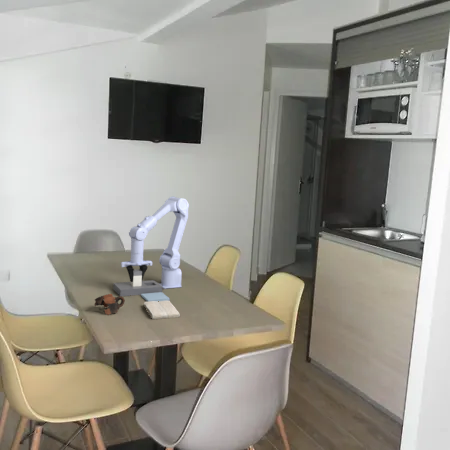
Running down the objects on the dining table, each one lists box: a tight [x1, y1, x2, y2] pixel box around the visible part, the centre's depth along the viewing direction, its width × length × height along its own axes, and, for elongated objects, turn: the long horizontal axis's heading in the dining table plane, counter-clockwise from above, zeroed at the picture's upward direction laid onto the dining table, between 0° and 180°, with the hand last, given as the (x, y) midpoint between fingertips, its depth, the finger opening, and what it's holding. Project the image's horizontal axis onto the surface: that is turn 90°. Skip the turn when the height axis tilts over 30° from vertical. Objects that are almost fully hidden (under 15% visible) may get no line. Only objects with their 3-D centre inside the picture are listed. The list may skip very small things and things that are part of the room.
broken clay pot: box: [94, 293, 125, 316], centre depth 202 cm, size 12×10×8 cm
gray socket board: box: [112, 280, 164, 297], centre depth 232 cm, size 20×12×3 cm, turn 118°
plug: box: [130, 268, 143, 287], centre depth 231 cm, size 4×4×9 cm
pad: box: [140, 291, 171, 302], centre depth 222 cm, size 10×10×1 cm
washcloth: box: [143, 301, 181, 320], centre depth 205 cm, size 12×18×3 cm, turn 22°
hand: (136, 281), depth 231 cm, fingers closed on plug, 4 cm apart
